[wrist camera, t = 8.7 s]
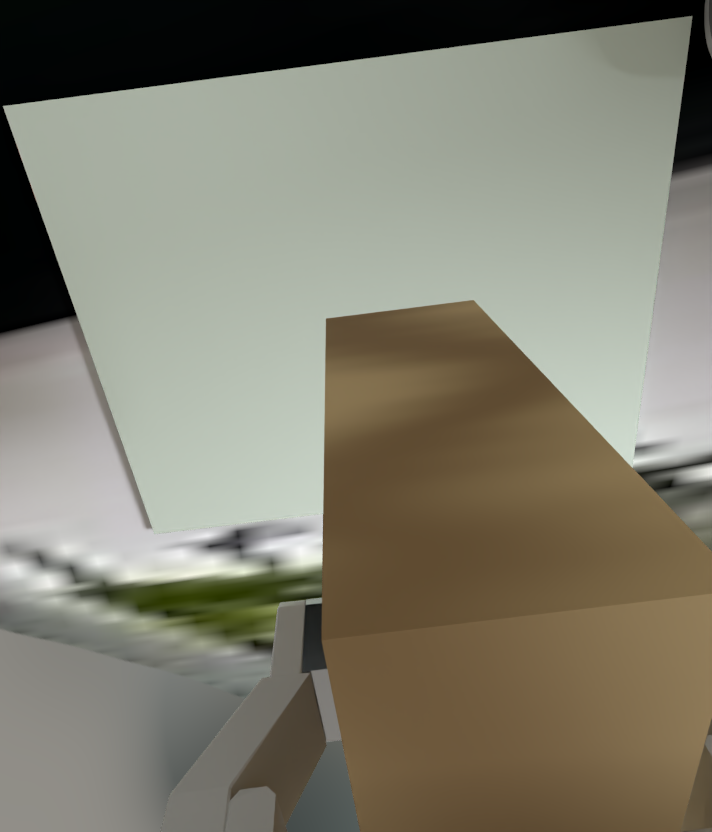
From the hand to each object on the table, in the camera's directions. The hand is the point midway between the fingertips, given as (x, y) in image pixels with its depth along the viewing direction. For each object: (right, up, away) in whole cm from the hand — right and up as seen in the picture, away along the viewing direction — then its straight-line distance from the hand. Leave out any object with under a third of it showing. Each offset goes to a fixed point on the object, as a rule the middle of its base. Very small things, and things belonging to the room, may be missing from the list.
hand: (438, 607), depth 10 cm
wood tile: (0, +1, +3) cm, 3 cm away
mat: (-1, +9, +17) cm, 19 cm away
